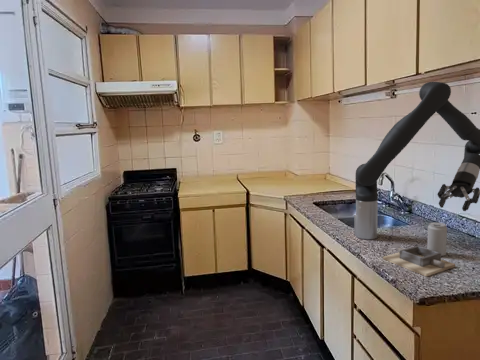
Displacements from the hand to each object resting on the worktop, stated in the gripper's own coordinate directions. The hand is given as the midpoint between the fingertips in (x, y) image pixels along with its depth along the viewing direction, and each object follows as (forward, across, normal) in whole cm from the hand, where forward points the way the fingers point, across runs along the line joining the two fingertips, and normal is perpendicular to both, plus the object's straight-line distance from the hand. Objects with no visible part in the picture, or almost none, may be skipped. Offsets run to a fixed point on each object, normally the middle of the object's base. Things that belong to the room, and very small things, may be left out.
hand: (452, 208), depth 139 cm
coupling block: (+29, 0, -6) cm, 30 cm away
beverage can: (+20, 0, +3) cm, 20 cm away
